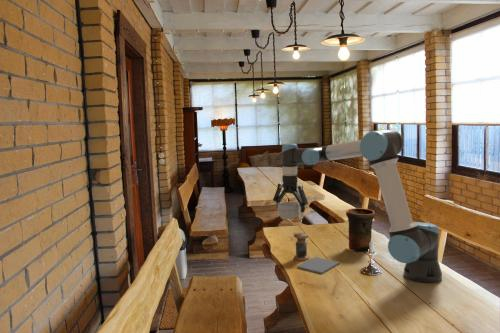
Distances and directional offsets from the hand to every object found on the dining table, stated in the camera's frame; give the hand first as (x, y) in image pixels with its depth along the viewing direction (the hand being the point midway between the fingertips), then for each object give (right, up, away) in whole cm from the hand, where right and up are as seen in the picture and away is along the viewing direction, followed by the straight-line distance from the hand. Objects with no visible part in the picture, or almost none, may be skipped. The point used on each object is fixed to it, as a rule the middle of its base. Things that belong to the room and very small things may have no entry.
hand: (290, 216), depth 215 cm
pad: (+11, -21, -18) cm, 29 cm away
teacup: (+1, -1, 0) cm, 1 cm away
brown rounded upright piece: (+5, -20, -7) cm, 21 cm away
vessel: (+37, -17, +6) cm, 41 cm away
